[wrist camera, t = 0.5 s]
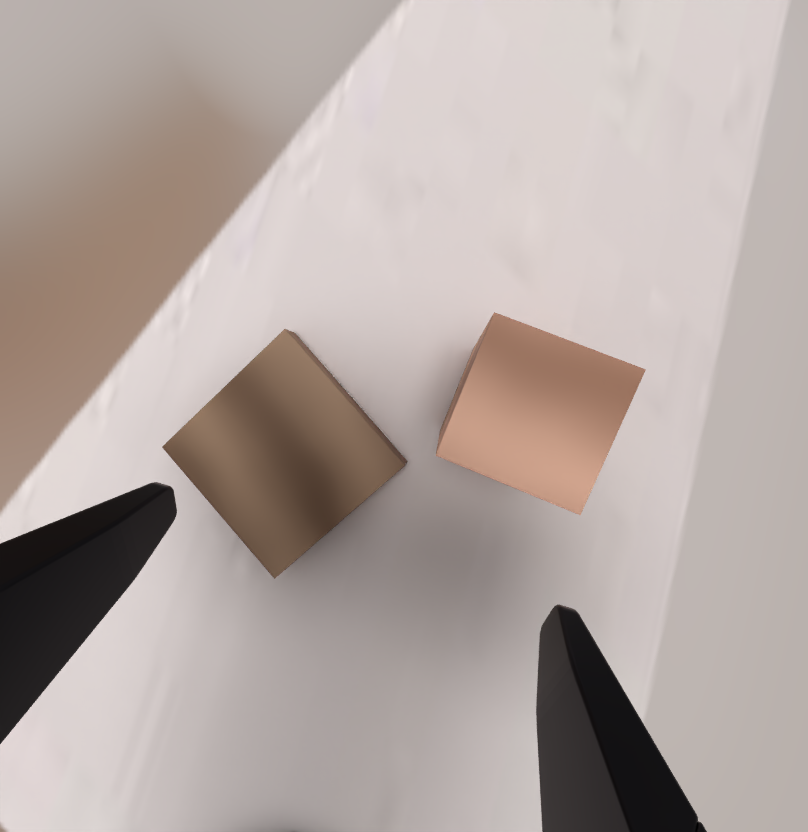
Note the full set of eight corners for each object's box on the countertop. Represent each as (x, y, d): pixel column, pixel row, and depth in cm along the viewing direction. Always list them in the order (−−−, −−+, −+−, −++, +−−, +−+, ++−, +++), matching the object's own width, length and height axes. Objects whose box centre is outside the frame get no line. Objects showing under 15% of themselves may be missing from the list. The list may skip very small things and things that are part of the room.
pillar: (522, 463, 23) (580, 514, 13) (440, 429, 23) (435, 455, 14) (558, 380, 23) (645, 369, 13) (473, 348, 23) (494, 312, 13)
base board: (284, 567, 25) (274, 578, 23) (179, 443, 25) (161, 447, 24) (407, 461, 24) (404, 465, 22) (294, 333, 24) (284, 328, 22)
